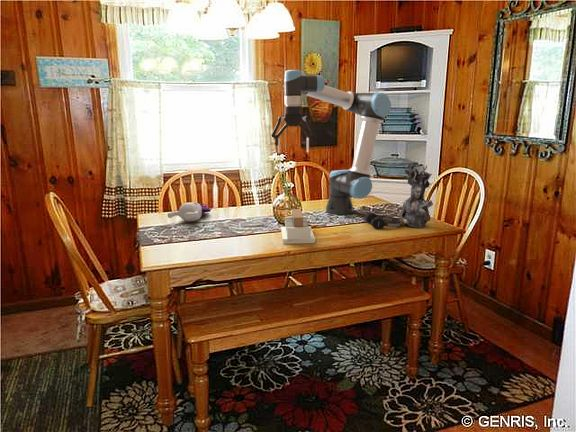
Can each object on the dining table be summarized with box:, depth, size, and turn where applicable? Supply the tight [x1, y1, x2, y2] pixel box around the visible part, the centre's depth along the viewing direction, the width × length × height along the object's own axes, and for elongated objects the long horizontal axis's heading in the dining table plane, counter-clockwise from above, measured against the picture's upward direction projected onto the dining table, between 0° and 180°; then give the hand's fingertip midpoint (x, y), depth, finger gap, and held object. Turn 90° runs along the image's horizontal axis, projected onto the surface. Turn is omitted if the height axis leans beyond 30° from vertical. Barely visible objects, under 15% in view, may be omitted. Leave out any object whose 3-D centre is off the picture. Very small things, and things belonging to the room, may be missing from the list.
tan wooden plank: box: [291, 208, 303, 227], centre depth 198 cm, size 15×4×5 cm, turn 3°
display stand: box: [280, 215, 316, 245], centre depth 200 cm, size 19×14×7 cm
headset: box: [362, 205, 402, 230], centre depth 217 cm, size 14×10×20 cm
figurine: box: [167, 202, 213, 222], centre depth 228 cm, size 16×10×30 cm
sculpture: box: [398, 164, 434, 229], centre depth 214 cm, size 14×15×30 cm
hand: (293, 152), depth 207 cm, fingers open, 13 cm apart
